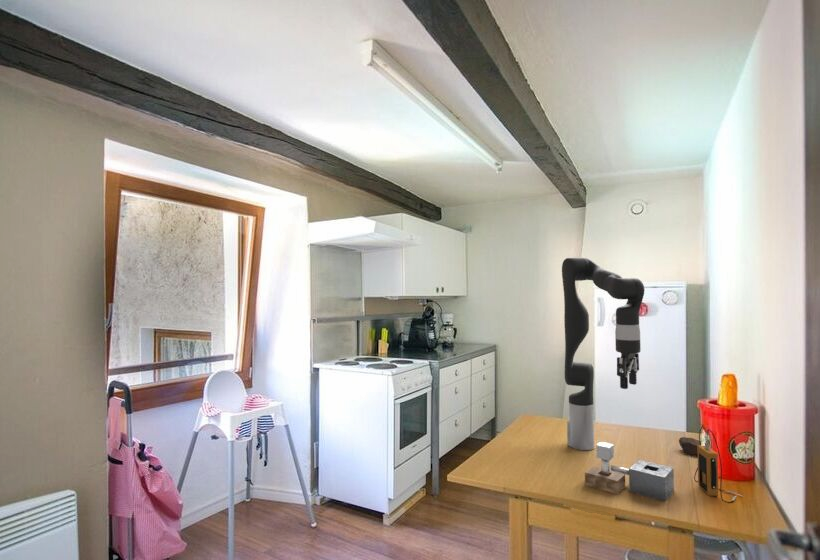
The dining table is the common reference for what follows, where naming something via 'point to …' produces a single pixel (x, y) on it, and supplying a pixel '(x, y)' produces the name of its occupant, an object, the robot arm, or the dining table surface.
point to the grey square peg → (605, 456)
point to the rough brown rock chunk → (689, 445)
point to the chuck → (649, 479)
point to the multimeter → (709, 469)
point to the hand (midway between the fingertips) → (628, 386)
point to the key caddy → (605, 480)
